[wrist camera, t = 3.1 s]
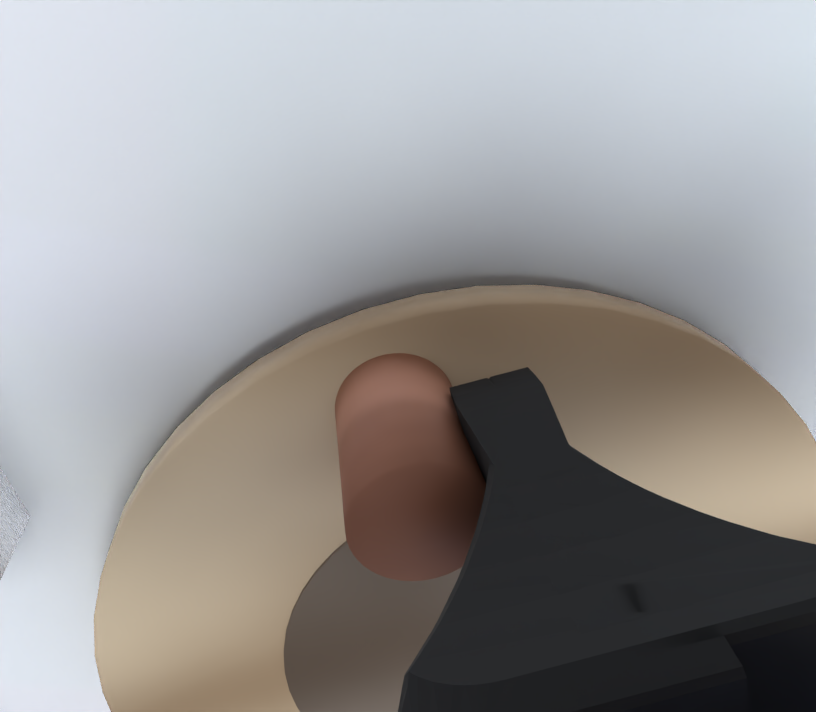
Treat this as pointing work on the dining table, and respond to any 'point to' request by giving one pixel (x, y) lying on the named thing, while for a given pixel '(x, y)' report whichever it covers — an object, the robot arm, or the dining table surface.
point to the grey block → (10, 521)
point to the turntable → (404, 489)
